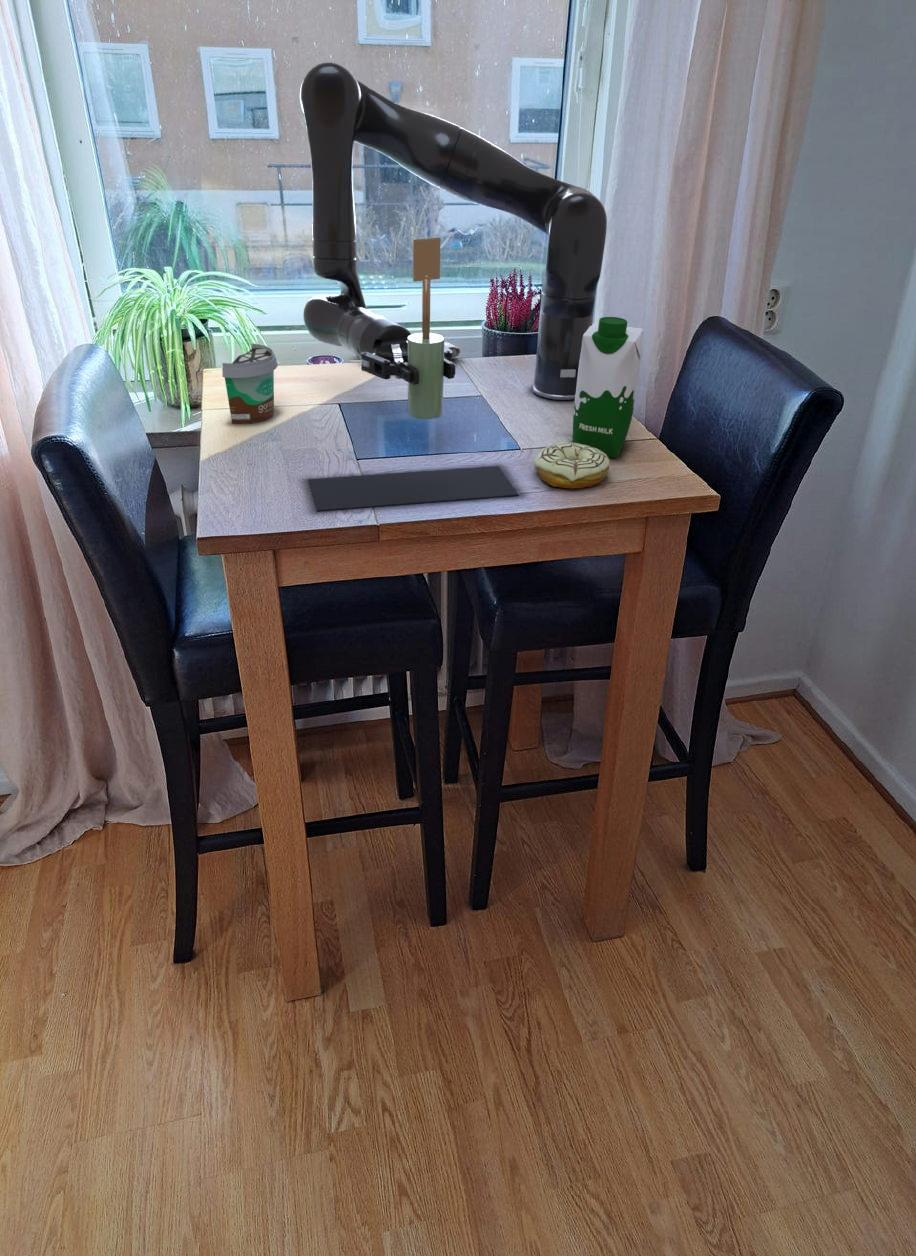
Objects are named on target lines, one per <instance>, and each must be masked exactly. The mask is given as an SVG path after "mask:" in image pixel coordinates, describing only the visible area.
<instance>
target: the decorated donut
mask: <svg viewBox="0 0 916 1256" xmlns="http://www.w3.org/2000/svg"><path fill="white" fill-rule="evenodd" d="M610 465H611V461H610V458H609V457H607V455H606V454H605V453H603V452H602V451H600V450H599V449H597V448H593V447H590V446H587V445H583V444H579V443H573V441H572V442H571V441H566V442H558V443H557V442H556V443H553V444H550V445H548V446H546V447H544V448H542V449H541V450H540V451H539V453H538V454H537V455H536V456H535V458H534V461H533V467H534V469H535V470H536V471H537V474H538V475H539V477H540V478H541V480H542V481H544V482H545V483H547V485H550V486H551V487H553V488H554V487H555V488H561V489H562V488H563V489H583V488H588V487H592V486H593V485H596V484H599V483H601V482H602V481H603V480H604V479H605V478H606V476H607V474H608V473H609V471H610Z"/></svg>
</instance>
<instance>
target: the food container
mask: <svg viewBox="0 0 916 1256" xmlns="http://www.w3.org/2000/svg"><path fill="white" fill-rule="evenodd" d="M250 348H251V349H250V350H249V351H248V352H246V353H243V354H239V355H238V356H237V357H236V358H235V359H234V361H232V362H231V363H228V362H222V372H221V373H222V378H224V382H225V389H226V394H227V395H226V396H227V401H228V406H229V413H230V419H231V424H236V425H248V424H249V425H250V424H257V423H258V424H259V423H261V422H265V421H268V420H271V418H273V416H274V415H275V370H276V369H277V368H278V366H279V365H278V360H277V357H276V355H275V353H274V351H273V349H272V348H271V347H269V346H267V345H264V344H260V343H253V342H251V343H250Z"/></svg>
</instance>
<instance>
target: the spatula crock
mask: <svg viewBox="0 0 916 1256" xmlns="http://www.w3.org/2000/svg"><path fill="white" fill-rule="evenodd" d="M433 280H441V238H440V237H432V238H421V239H413V240H412V281H413V282H415V283H416V282H422V283H421V284H422V286H421V287H422V291H421V295H422V297H421V299H422V300H421V303H422V304H421V305H422V307H421V332H416V333H411V335H410V336H408V364H410V365H412V366H414V367H415V368H417V369H418V371H419V384H416V385H412V384H411V383H409V382H407V415H408V416H410V417H411V418H414V419H418V420H434V419H439V418H440V417H442V416H443V414H444V382H445V381H444V380H445V379H444V378H445V376H444V342H445V337H444V336H443V335H441V334H438V333H434V332H431V283H432V282H431V281H433Z"/></svg>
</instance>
